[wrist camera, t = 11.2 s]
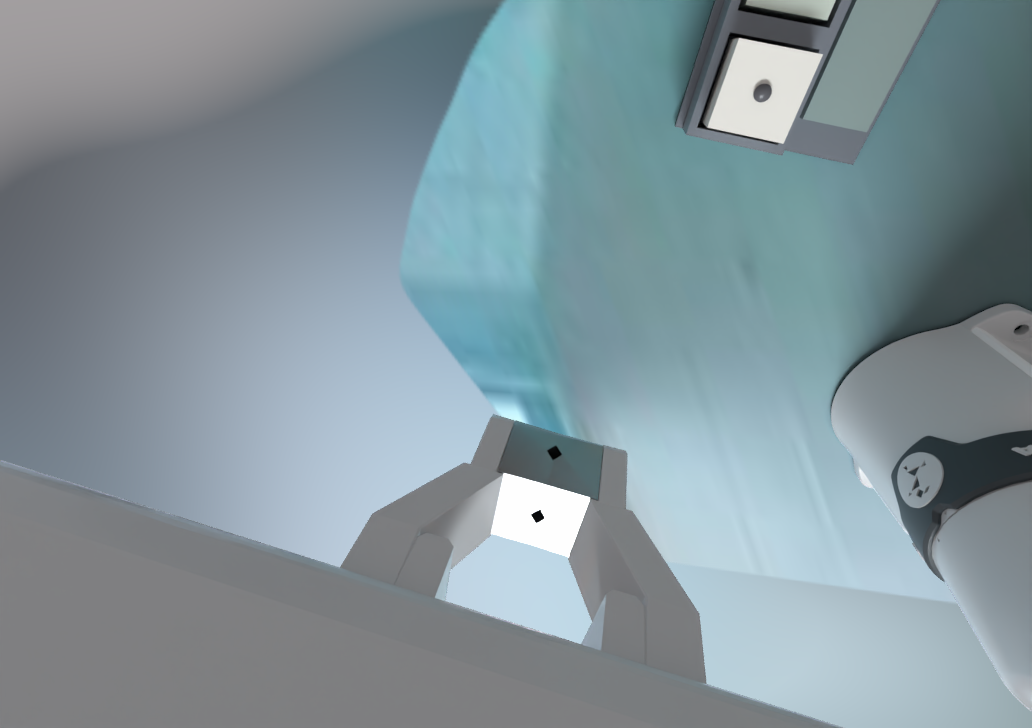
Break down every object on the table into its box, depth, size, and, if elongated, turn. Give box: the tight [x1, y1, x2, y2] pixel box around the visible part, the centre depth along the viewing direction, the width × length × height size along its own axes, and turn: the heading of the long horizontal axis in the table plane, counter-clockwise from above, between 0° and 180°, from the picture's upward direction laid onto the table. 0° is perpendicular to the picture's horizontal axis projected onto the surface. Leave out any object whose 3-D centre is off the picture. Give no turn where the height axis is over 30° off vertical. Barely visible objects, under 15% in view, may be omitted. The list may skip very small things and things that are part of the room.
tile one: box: [702, 38, 823, 144], centre depth 28 cm, size 4×4×4 cm
